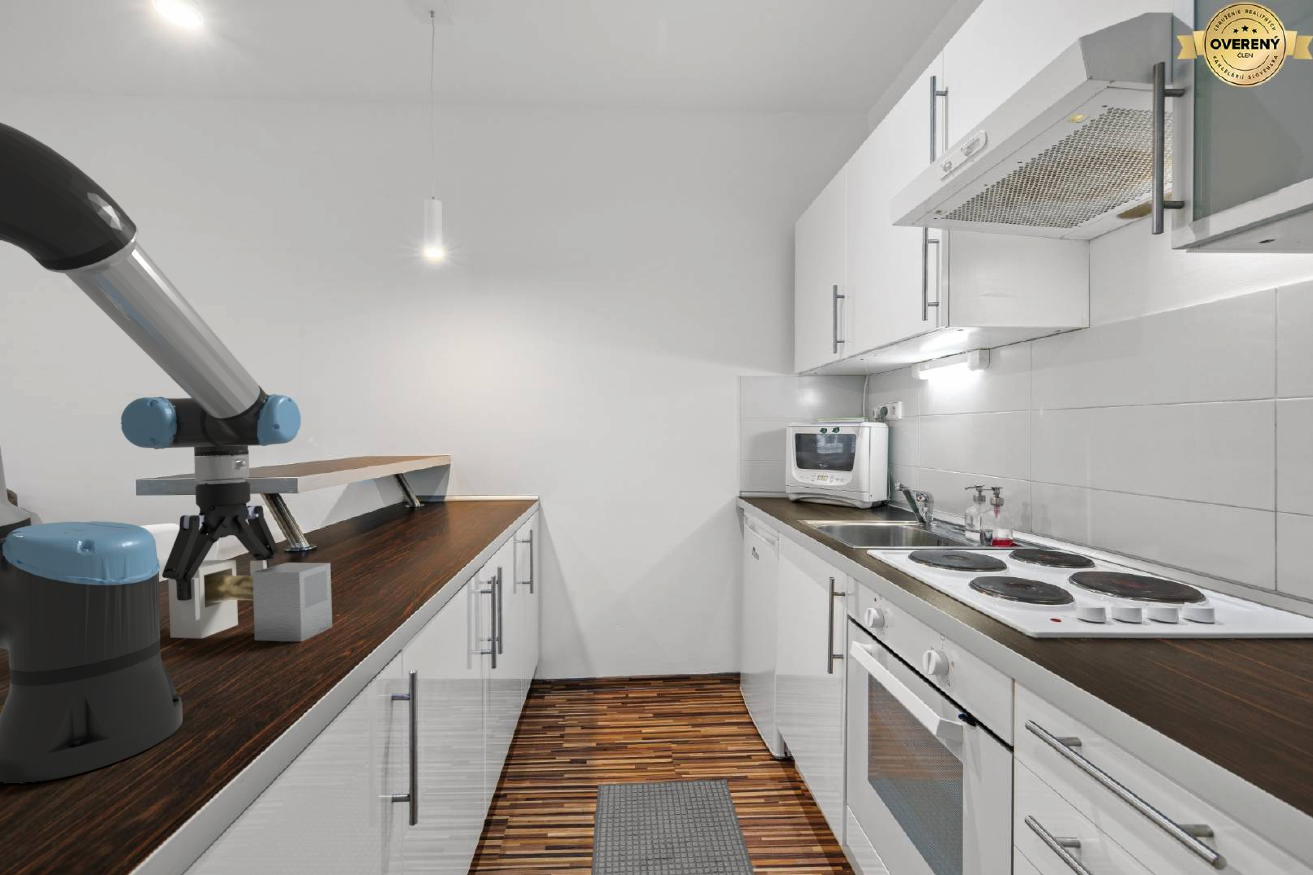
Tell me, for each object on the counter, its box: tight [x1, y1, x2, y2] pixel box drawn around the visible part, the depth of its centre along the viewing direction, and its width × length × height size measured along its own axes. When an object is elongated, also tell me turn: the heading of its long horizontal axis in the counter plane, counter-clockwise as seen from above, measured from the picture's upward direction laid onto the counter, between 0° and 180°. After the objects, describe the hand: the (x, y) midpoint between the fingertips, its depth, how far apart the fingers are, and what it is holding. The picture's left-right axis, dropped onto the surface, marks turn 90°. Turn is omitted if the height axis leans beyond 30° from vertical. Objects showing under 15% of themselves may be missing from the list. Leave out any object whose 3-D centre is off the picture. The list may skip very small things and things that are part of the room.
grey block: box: [252, 562, 333, 643], centre depth 99 cm, size 8×7×11 cm
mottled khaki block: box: [204, 574, 254, 601], centre depth 101 cm, size 14×4×4 cm, turn 80°
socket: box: [167, 559, 239, 639], centre depth 102 cm, size 6×7×11 cm
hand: (227, 607), depth 101 cm, fingers open, 13 cm apart
